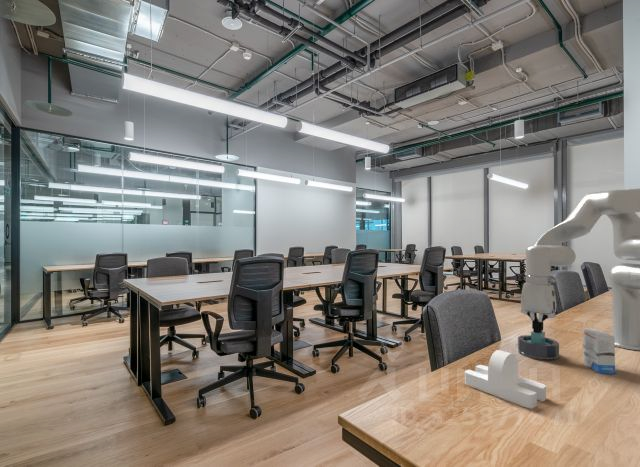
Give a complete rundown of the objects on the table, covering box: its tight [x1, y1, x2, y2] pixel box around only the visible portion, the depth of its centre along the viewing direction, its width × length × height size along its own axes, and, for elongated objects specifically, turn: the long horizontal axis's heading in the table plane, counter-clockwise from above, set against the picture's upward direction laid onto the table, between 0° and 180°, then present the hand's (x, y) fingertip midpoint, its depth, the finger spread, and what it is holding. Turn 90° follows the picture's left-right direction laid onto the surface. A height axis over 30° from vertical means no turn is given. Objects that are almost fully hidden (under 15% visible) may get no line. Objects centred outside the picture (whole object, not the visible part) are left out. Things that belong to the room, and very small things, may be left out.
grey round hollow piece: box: [517, 334, 560, 362], centre depth 122 cm, size 12×12×5 cm
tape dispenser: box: [464, 349, 547, 409], centre depth 94 cm, size 10×18×11 cm, turn 37°
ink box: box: [582, 328, 616, 375], centre depth 109 cm, size 9×5×12 cm, turn 168°
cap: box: [527, 330, 549, 344], centre depth 122 cm, size 8×8×7 cm
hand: (537, 331), depth 122 cm, fingers closed
